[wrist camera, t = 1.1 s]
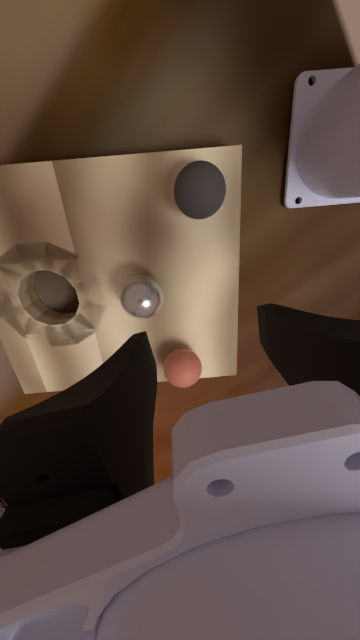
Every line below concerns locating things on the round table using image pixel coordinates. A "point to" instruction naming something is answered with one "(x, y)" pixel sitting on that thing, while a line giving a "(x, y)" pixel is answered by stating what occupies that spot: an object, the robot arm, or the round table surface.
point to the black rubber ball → (199, 189)
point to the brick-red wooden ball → (182, 368)
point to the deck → (116, 263)
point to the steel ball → (141, 297)
